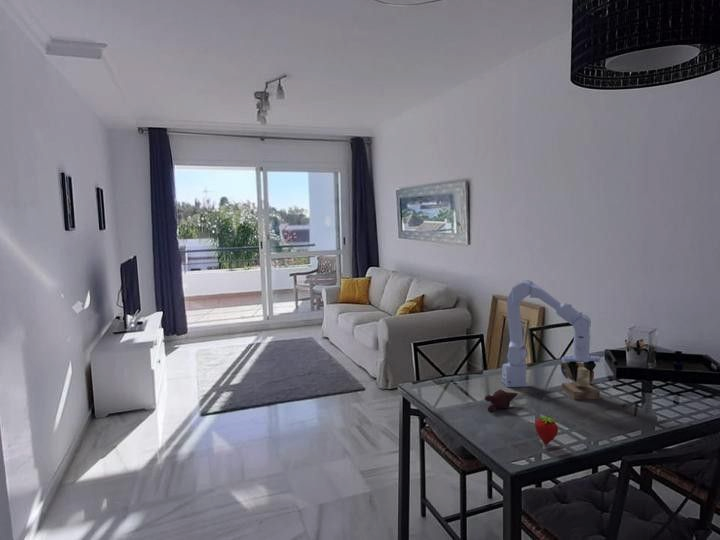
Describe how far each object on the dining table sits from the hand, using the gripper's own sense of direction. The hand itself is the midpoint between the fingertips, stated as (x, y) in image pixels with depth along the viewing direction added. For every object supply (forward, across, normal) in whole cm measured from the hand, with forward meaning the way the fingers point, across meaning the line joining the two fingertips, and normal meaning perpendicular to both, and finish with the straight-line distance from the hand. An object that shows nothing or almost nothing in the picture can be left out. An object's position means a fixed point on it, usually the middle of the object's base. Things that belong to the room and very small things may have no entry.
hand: (580, 380), depth 183 cm
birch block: (+2, 0, 0) cm, 2 cm away
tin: (+6, +7, +16) cm, 19 cm away
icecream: (+6, -35, -10) cm, 37 cm away
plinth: (+6, 0, 0) cm, 6 cm away
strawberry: (+6, -31, -39) cm, 50 cm away
